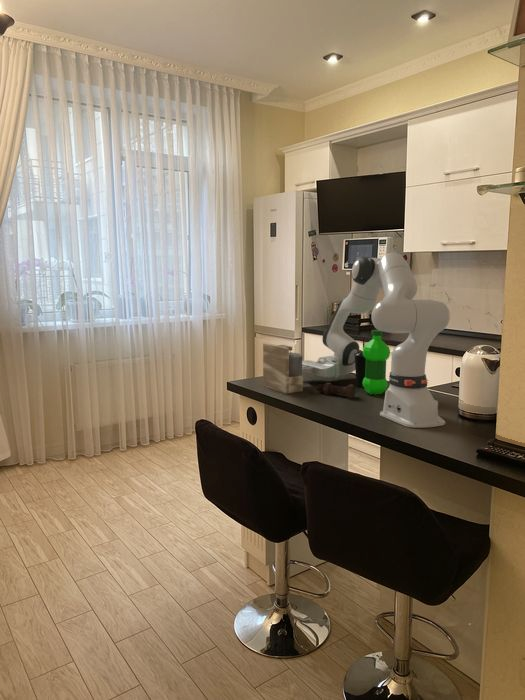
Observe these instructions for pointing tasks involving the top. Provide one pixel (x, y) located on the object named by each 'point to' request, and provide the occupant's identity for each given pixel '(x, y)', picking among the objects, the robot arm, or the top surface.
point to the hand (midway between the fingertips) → (299, 370)
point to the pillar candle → (295, 364)
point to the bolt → (337, 389)
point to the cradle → (279, 369)
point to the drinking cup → (360, 367)
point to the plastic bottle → (375, 364)
